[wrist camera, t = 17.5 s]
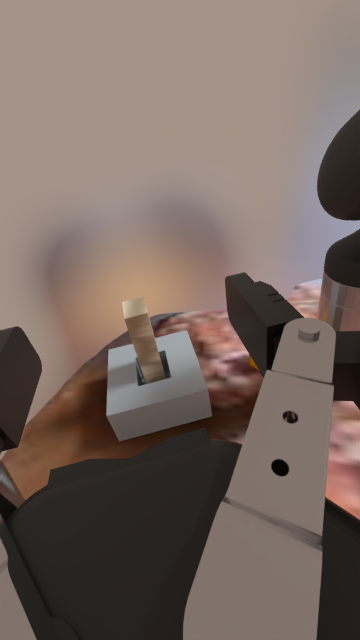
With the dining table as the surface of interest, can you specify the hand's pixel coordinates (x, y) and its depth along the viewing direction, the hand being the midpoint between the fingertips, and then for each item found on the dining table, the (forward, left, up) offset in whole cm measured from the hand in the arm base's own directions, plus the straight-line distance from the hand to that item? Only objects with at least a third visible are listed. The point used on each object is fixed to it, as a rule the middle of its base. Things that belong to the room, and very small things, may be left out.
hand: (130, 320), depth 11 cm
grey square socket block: (+2, -23, -30) cm, 38 cm away
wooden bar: (+2, -23, -29) cm, 37 cm away
